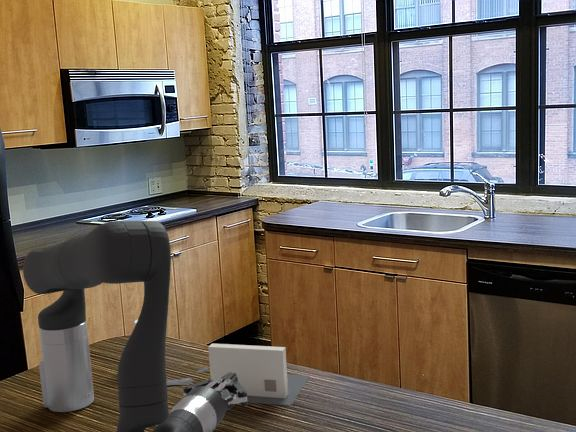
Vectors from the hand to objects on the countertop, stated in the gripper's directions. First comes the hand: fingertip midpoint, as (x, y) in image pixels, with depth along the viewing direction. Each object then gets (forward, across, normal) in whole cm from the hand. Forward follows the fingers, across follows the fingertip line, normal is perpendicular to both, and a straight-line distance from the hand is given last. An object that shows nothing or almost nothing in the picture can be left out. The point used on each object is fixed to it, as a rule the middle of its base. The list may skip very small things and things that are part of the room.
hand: (232, 377), depth 129 cm
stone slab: (+13, +21, +8) cm, 26 cm away
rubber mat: (+12, 0, +8) cm, 14 cm away
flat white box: (+8, 0, +7) cm, 11 cm away
